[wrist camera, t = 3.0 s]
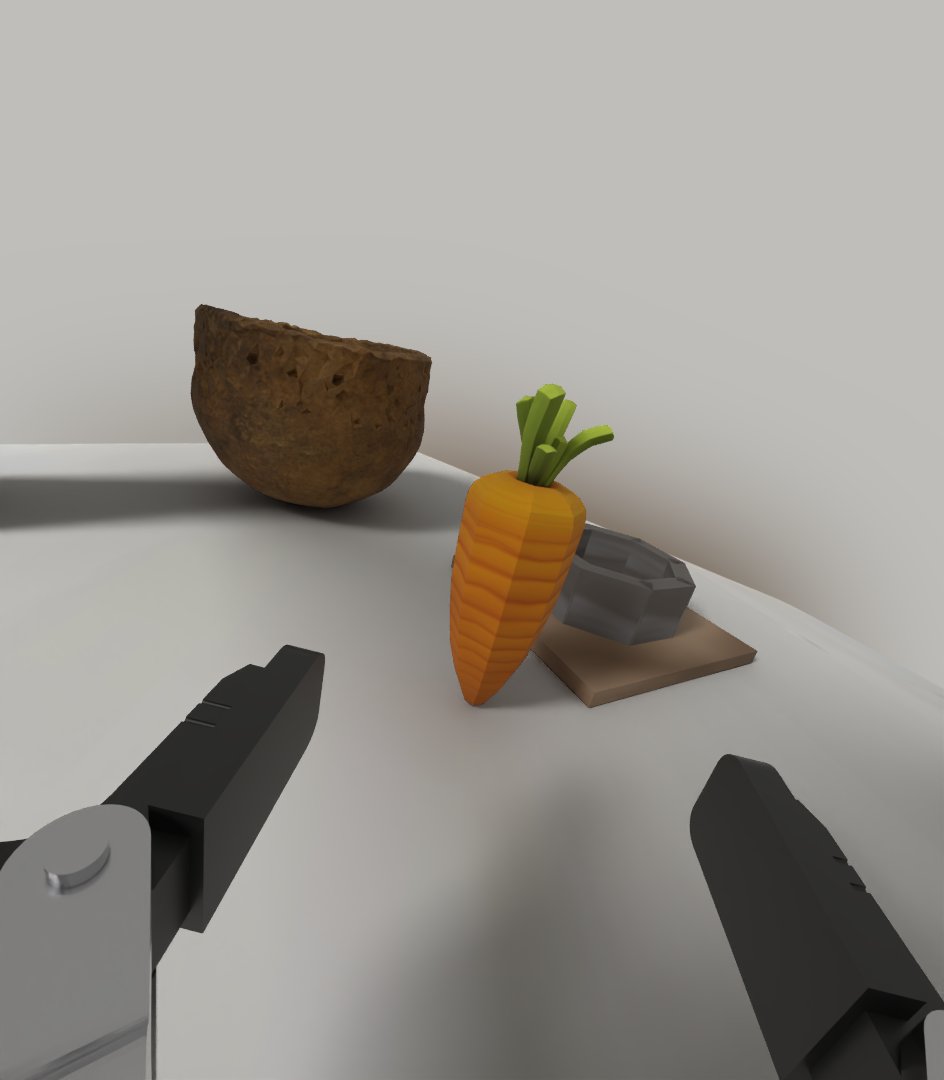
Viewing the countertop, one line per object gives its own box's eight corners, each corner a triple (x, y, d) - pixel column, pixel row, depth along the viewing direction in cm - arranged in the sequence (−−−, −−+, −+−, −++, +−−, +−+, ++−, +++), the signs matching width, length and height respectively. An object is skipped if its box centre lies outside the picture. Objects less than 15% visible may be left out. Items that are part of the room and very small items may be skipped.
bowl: (186, 542, 31) (185, 297, 25) (194, 462, 46) (194, 297, 40) (439, 544, 40) (477, 365, 35) (377, 477, 55) (397, 345, 50)
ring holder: (451, 566, 36) (464, 507, 34) (594, 560, 45) (611, 512, 43) (588, 707, 24) (620, 626, 22) (751, 662, 32) (783, 601, 31)
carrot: (479, 661, 26) (554, 383, 20) (542, 721, 22) (653, 407, 17) (402, 685, 22) (467, 363, 17) (463, 760, 19) (568, 388, 14)
